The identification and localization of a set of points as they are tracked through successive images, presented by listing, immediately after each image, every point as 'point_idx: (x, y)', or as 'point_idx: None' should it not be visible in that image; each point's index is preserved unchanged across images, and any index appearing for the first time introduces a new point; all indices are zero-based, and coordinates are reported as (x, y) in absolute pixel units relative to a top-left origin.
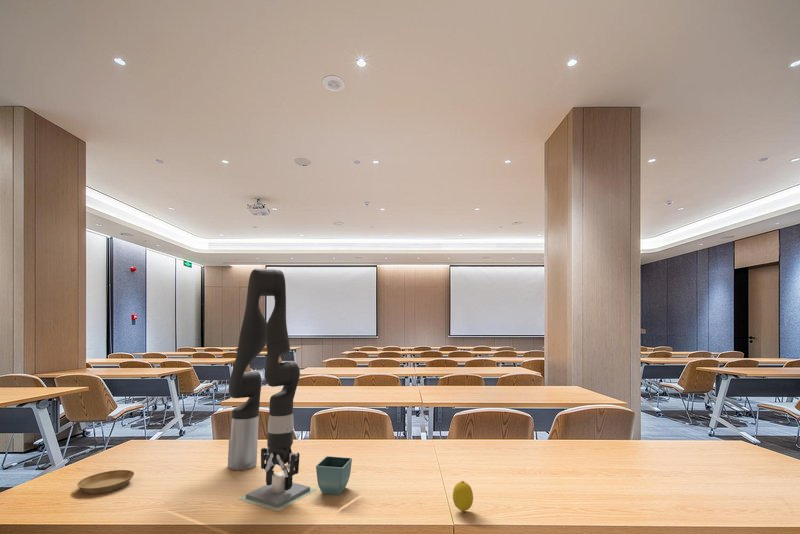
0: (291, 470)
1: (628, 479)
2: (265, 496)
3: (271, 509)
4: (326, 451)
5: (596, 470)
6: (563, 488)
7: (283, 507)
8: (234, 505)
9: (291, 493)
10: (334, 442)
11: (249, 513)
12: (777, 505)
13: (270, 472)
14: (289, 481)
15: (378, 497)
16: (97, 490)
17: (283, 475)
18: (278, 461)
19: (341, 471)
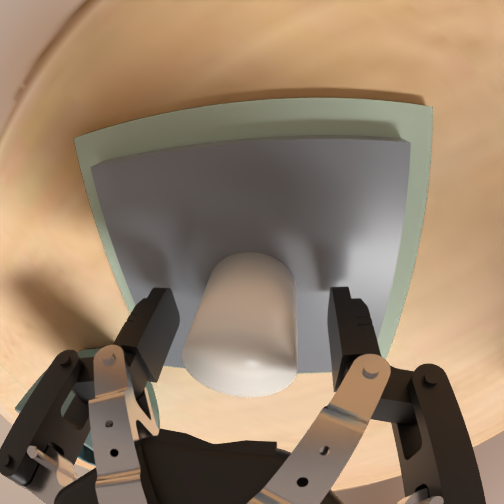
0: (52, 381)
1: (14, 415)
2: (247, 186)
3: (112, 126)
4: (364, 468)
5: None
6: (9, 402)
7: (87, 182)
8: (393, 50)
9: None
10: (373, 479)
11: (203, 28)
12: None
13: (338, 368)
14: (124, 332)
15: (42, 363)
16: None
17: (199, 370)
18: (181, 471)
19: (21, 401)
